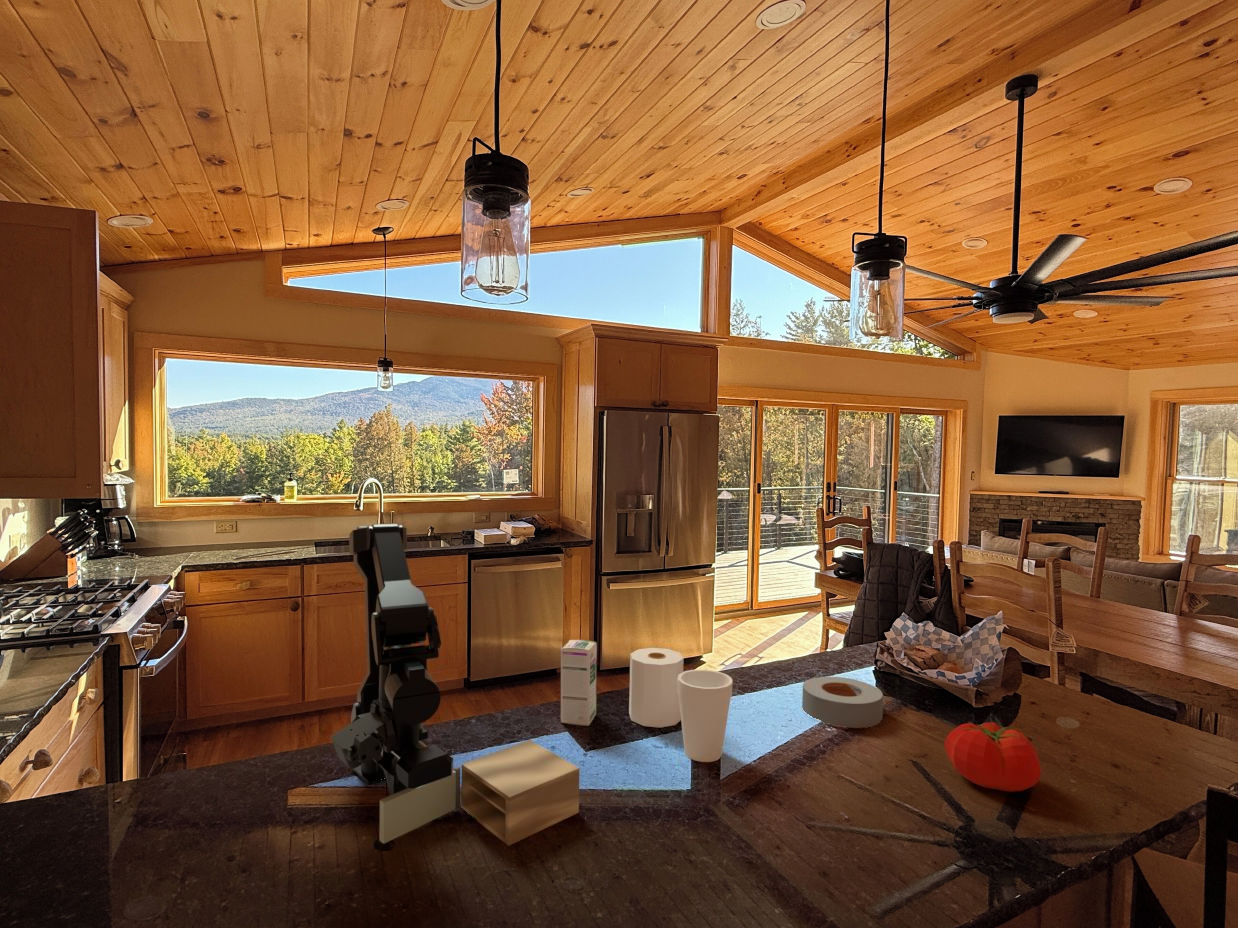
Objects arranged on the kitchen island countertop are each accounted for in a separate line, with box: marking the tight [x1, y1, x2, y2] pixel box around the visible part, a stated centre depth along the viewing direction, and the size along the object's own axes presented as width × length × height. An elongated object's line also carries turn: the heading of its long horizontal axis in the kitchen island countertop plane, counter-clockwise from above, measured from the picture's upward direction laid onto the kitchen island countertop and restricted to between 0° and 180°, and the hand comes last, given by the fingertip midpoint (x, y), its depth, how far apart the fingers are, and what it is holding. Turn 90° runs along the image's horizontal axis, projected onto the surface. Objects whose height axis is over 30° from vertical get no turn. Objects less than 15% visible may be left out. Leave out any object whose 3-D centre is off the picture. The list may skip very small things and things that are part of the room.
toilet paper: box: [628, 647, 684, 729], centre depth 131 cm, size 10×10×12 cm
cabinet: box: [460, 739, 580, 847], centre depth 97 cm, size 12×12×6 cm
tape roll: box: [801, 676, 884, 727], centre depth 135 cm, size 15×15×5 cm
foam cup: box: [677, 669, 733, 763], centre depth 116 cm, size 10×9×13 cm
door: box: [379, 766, 461, 845], centre depth 92 cm, size 12×1×6 cm, turn 140°
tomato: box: [944, 722, 1042, 793], centre depth 108 cm, size 14×13×9 cm
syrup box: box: [560, 639, 598, 727], centre depth 129 cm, size 6×6×14 cm
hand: (397, 805), depth 92 cm, fingers closed
